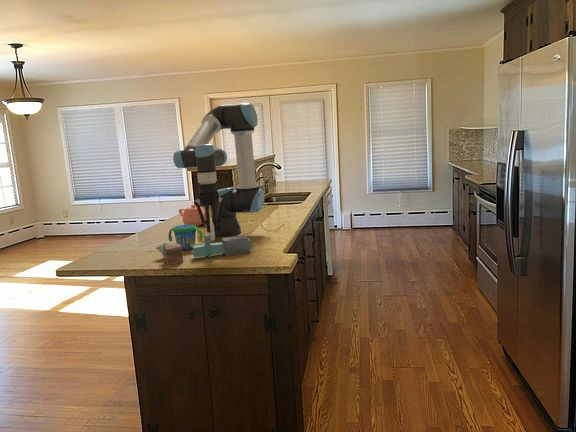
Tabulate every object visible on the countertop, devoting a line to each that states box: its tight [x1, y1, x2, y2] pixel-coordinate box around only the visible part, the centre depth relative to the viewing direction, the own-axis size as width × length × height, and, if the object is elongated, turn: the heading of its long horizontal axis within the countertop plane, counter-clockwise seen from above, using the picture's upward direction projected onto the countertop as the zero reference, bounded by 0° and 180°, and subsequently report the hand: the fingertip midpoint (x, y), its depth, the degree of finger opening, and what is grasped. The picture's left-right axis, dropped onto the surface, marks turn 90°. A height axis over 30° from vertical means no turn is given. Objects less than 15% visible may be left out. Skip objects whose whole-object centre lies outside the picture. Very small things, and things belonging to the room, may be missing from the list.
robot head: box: [155, 241, 172, 258], centre depth 193 cm, size 8×4×7 cm, turn 83°
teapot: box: [178, 204, 211, 228], centre depth 268 cm, size 13×20×12 cm, turn 80°
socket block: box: [164, 243, 184, 265], centre depth 186 cm, size 7×6×6 cm
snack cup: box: [168, 224, 203, 251], centre depth 209 cm, size 16×10×10 cm
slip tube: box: [192, 233, 253, 259], centre depth 192 cm, size 6×24×9 cm, turn 110°
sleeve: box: [220, 235, 250, 257], centre depth 194 cm, size 7×10×6 cm, turn 110°
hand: (212, 239), depth 191 cm, fingers closed
